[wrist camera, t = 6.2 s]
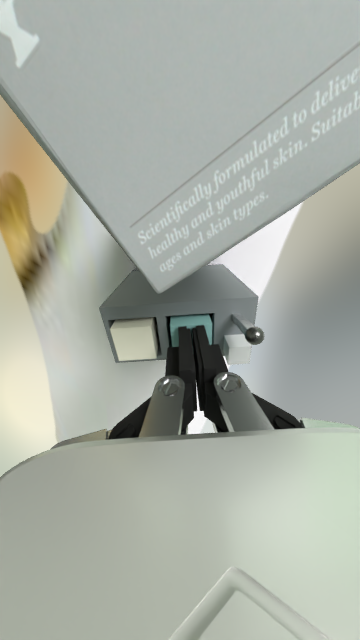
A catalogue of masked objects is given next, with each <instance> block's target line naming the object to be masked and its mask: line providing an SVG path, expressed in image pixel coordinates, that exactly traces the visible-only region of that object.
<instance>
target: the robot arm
mask: <svg viewBox="0 0 360 640" xmlns="http://www.w3.org/2000/svg"><path fill="white" fill-rule="evenodd" d="M178 337H179V347H168V348H167V359H166V373H165V377H163V378H161V379H160V380H159V381H158V382H157V383H156V385H155V388H154V391H153V394H152V397H150V398H149V399H148V400H147V401H145V402H144V403H143V404H142V405H140V406H139V407H138V408H137V409H135V410H134V411H133V412H132V413H130V414H129V415H128V416H127V417H125V418H124V419H123V420H122V421H120V422H119V423H118V424H117V425H116V426H115V427H114V428H113V429H112V430H109V431H107V429H104V430H100V431H97V432H93V433H90V434H86V435H82V436H79V437H75V438H72V439H68V440H65V441H62V442H60V443H57V444H56V445H55V446H53V447H52V448H51V449H50V450H48V451H45V452H42V453H40V454H38V455H36V456H33V457H31V458H29V459H27V460H25V461H23V462H21V463H19V464H18V465H16V466H14V467H13V468H11V469H10V470H9V471H7V472H6V473H5V474H3V475H2V476H1V477H0V640H360V428H358V427H356V426H352V425H348V424H342V423H335V422H329V421H321V420H315V419H308V418H301V419H300V420H298V419H296V418H295V417H294V416H292V415H291V414H289V413H287V412H285V411H284V410H282V409H280V408H278V407H276V406H275V405H273V404H271V403H269V402H267V401H266V400H264V399H262V398H260V397H258V396H256V395H255V394H253V393H251V392H250V390H249V389H248V387H247V385H246V384H245V382H244V381H243V379H242V378H241V377H240V376H238V375H237V374H234V373H230V372H228V369H227V366H226V364H225V361H224V358H223V355H222V352H221V349H220V346H219V344H212V345H210V344H209V340H208V337H207V333H206V329H205V326H204V325H198V326H196V328H193V347H192V339H191V331H190V328H187V326H183V327H178ZM193 351H194V354H193ZM196 383H197V391H198V399H199V407H200V411H204V416H205V417H206V418H208V419H209V420H211V421H212V422H213V428H214V431H215V433H204V434H187V433H188V424H189V423H190V422H191V421H192V420H193V418H194V411H197V397H196Z"/></svg>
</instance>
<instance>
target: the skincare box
mask: <svg viewBox="0 0 360 640" xmlns="http://www.w3.org/2000/svg"><path fill="white" fill-rule="evenodd" d="M0 95H1V96H2V97H3V99H4V100H5V101H6V103H7V104H8V105H9V106H10V108H11V109H12V110H13V112H14V113H15V114H16V115H17V117H18V118H19V119H20V120H21V122H22V123H23V124H24V126H25V127H26V128H27V129H28V130H29V132H30V133H31V134H32V136H33V137H34V138H35V139H36V141H37V142H38V143H39V145H40V146H41V147H42V148H43V150H44V151H45V152H46V153H47V155H48V156H49V157H50V159H51V160H52V161H53V162H54V164H55V165H56V166H57V167H58V168H59V170H60V171H61V172H62V174H63V175H64V176H65V178H66V179H67V180H68V181H69V183H70V184H71V185H72V186H73V188H74V189H75V190H76V192H77V193H78V194H79V195H80V197H81V198H82V199H83V200H84V202H85V203H86V204H87V205H88V207H89V208H90V209H91V210H92V212H93V213H94V214H95V215H96V217H97V218H98V219H99V220H100V222H101V223H102V224H103V225H104V227H105V228H106V229H107V230H108V232H109V233H110V234H111V236H112V237H113V238H114V239H115V241H116V242H117V243H118V244H119V246H120V247H121V248H122V249H123V251H124V252H125V253H126V254H127V256H128V257H129V258H130V259H131V261H132V262H133V263H134V264H135V266H136V267H137V268H138V270H139V271H140V272H141V274H142V275H143V276H144V277H145V279H146V280H147V281H148V283H149V284H150V285H151V286H152V288H153V289H154V290H155V291H156V292H157V293H159V294H160V293H162V292H164V291H166V290H167V289H169V288H170V287H172V286H174V285H175V284H177V283H178V282H180V281H182V280H183V279H185V278H186V277H188V276H189V275H191V274H193V273H194V272H196V271H197V270H199V269H200V268H202V267H203V266H205V265H207V264H208V263H210V262H211V261H213V260H214V259H216V258H217V257H219V256H220V255H222V254H223V253H225V252H226V251H228V250H229V249H231V248H232V247H234V246H235V245H237V244H238V243H240V242H241V241H243V240H245V239H246V238H248V237H249V236H251V235H252V234H254V233H255V232H257V231H258V230H260V229H262V228H263V227H265V226H266V225H268V224H269V223H271V222H272V221H274V220H276V219H277V218H279V217H280V216H282V215H283V214H285V213H286V212H288V211H289V210H291V209H292V208H294V207H295V206H297V205H298V204H300V203H301V202H303V201H304V200H306V199H307V198H309V197H310V196H312V195H313V194H315V193H316V192H318V191H319V190H321V189H322V188H324V186H327V185H328V184H330V183H331V182H333V181H334V180H335V179H337V178H338V177H340V176H341V175H343V174H344V173H346V172H347V171H349V170H350V169H352V168H353V167H355V166H356V165H358V164H359V163H360V0H0Z"/></svg>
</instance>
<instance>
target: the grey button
mask: <svg viewBox="0 0 360 640" xmlns="http://www.w3.org/2000/svg"><path fill="white" fill-rule="evenodd" d="M251 348H252V346H251V344H250V343H248V342H247V341H246V339H245V335H244V334H238V335H224V347H223V352H224V355H225V358H226V360H227V363H228V365H232V364H246V363H249V362H250V355H251Z"/></svg>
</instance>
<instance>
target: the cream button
mask: <svg viewBox="0 0 360 640" xmlns="http://www.w3.org/2000/svg"><path fill="white" fill-rule="evenodd" d="M110 331H111V335H112V338H113V342H114V345H115V348H116V352H117V355H118V359H119V361H127V360H143V359H156V358H157V351H158V344H159V332H158V325H157V319H156V317H145V318H131V319H116V320H115V322H114V323H113V325H112V326H111V328H110Z"/></svg>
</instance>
